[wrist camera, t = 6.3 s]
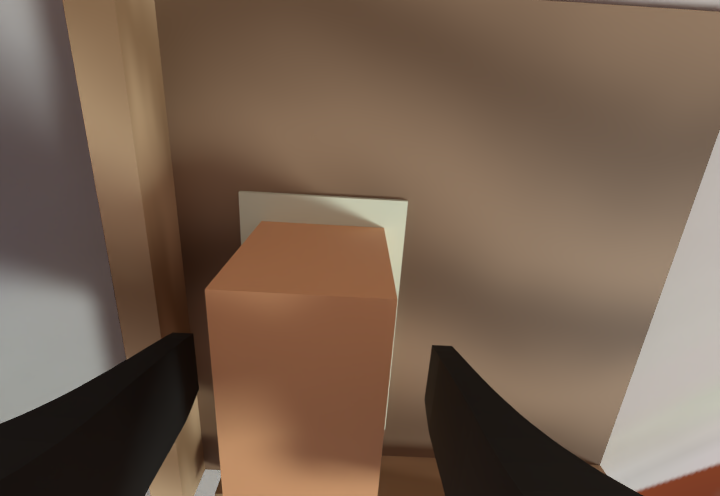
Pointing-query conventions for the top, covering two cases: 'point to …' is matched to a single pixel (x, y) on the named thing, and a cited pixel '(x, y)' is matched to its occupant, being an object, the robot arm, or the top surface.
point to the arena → (410, 181)
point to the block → (302, 360)
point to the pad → (329, 218)
